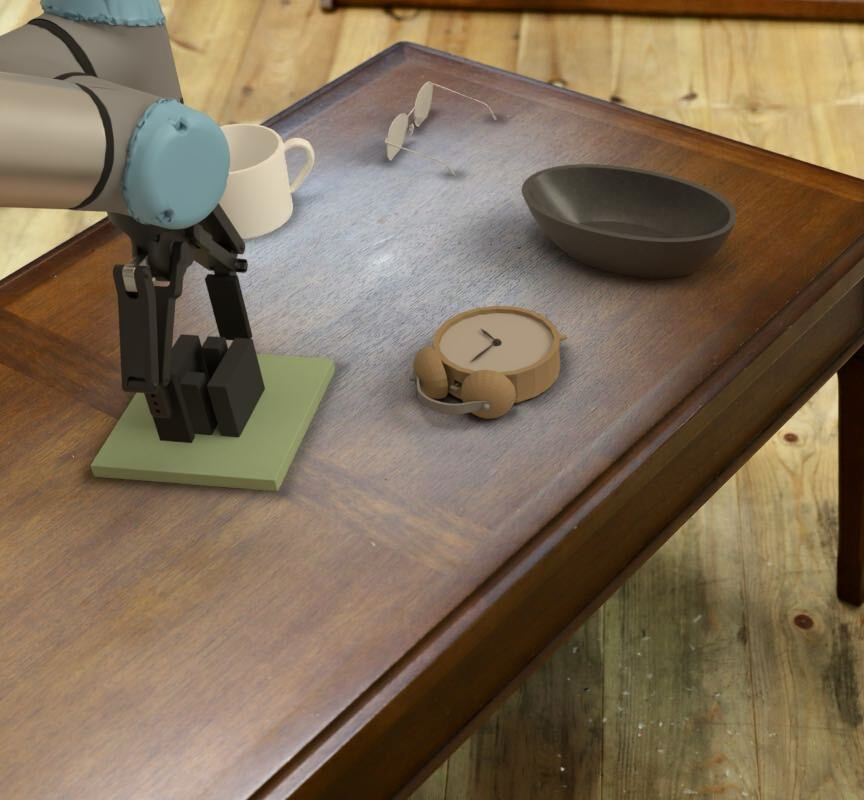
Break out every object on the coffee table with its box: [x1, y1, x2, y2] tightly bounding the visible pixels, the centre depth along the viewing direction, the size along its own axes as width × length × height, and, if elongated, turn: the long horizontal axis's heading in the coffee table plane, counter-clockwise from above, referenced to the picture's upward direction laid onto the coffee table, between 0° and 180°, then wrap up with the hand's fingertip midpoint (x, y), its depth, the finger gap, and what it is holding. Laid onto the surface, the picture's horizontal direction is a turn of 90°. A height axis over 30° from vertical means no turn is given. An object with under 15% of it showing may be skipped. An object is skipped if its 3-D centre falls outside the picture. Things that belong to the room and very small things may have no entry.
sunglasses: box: [384, 81, 497, 177], centre depth 154 cm, size 14×8×5 cm, turn 163°
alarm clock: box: [409, 305, 568, 420], centre depth 121 cm, size 11×5×15 cm
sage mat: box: [90, 353, 336, 492], centre depth 118 cm, size 16×16×3 cm
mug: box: [219, 123, 316, 240], centre depth 143 cm, size 13×10×8 cm
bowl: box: [521, 163, 738, 280], centre depth 135 cm, size 12×22×6 cm, turn 65°
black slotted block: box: [170, 333, 265, 437], centre depth 117 cm, size 6×6×6 cm
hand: (208, 386), depth 117 cm, fingers open, 13 cm apart
